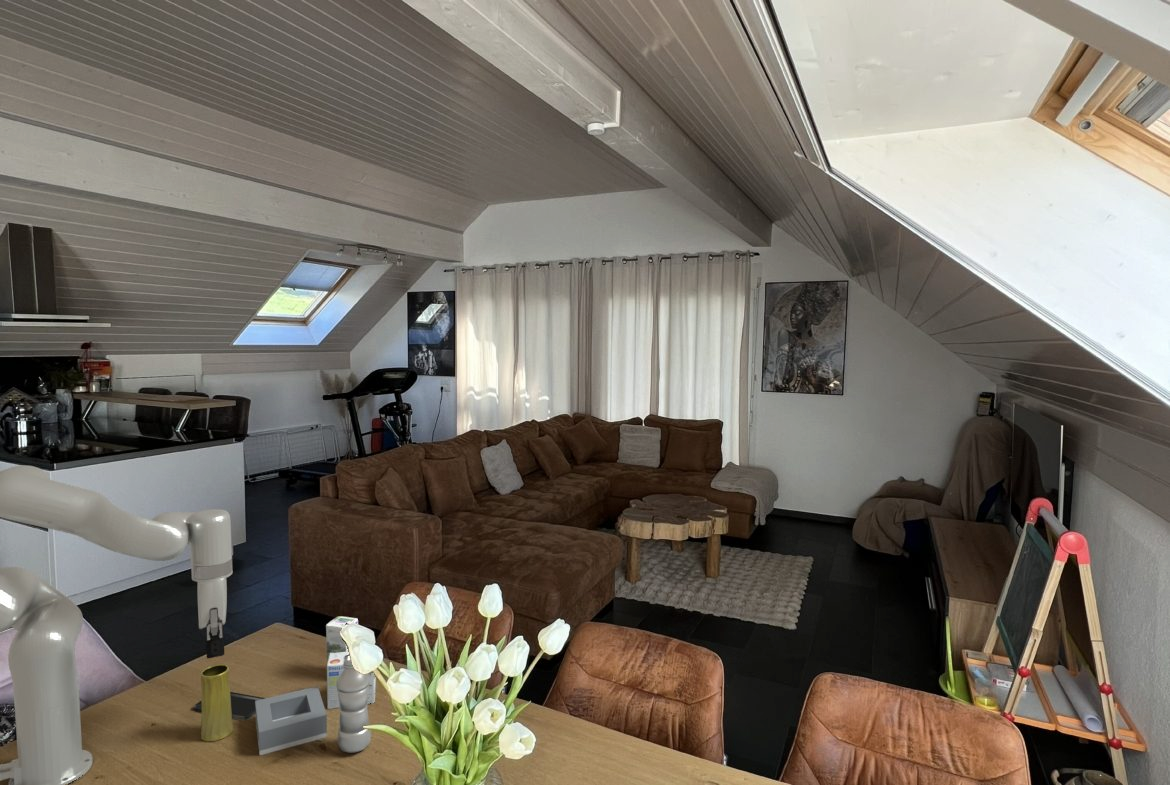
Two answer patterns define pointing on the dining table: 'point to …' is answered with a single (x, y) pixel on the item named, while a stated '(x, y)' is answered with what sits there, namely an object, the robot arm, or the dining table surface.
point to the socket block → (290, 720)
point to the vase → (216, 703)
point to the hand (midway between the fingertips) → (215, 646)
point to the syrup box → (336, 635)
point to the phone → (238, 706)
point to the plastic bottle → (353, 708)
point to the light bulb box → (332, 675)
